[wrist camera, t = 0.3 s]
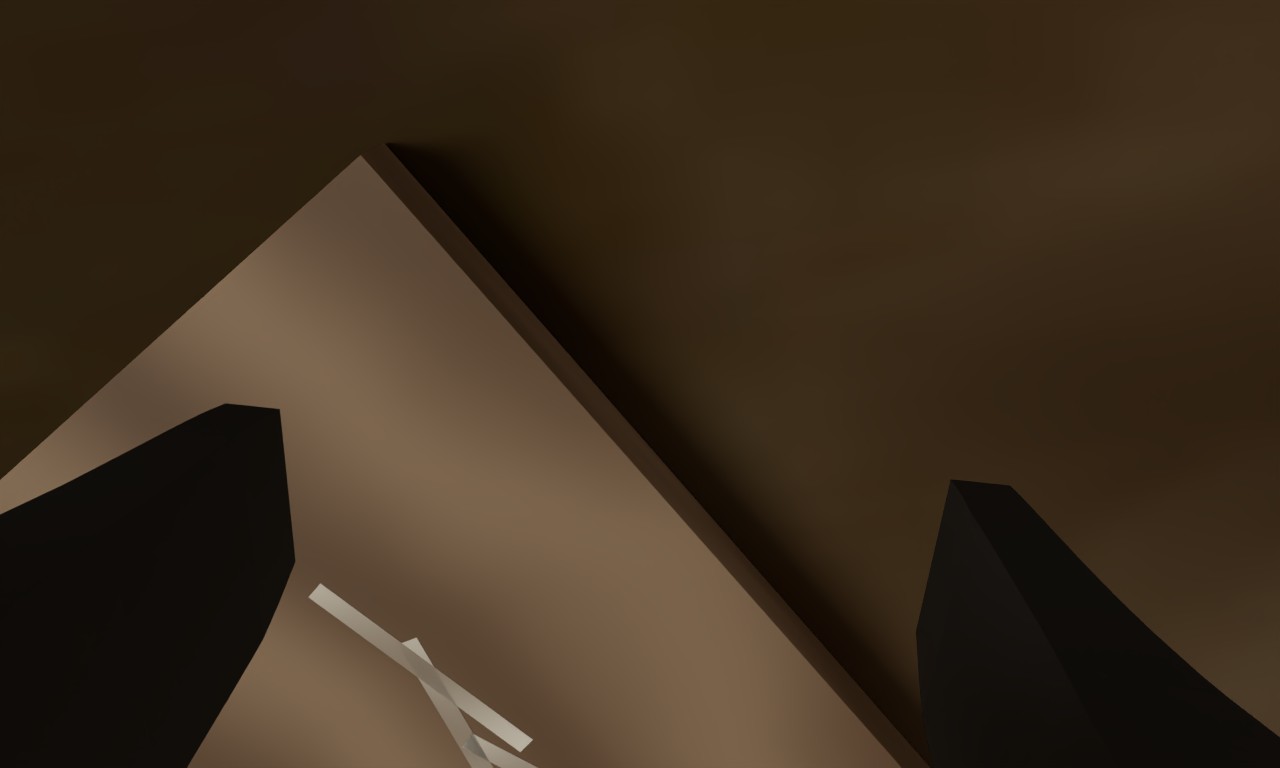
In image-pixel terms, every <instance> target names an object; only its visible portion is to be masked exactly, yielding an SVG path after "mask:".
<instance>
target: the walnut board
mask: <svg viewBox="0 0 1280 768" xmlns="http://www.w3.org/2000/svg"><path fill="white" fill-rule="evenodd" d="M225 403H228V404H238V405H247V406H257V407H266V408H276V409H280V414H281V424H282V434H283V444H284V453H285V463H286V473H287V483H288V492H289V502H290V512H291V521H292V531H293V541H294V551H295V560H296V562H295V564H294V567H293V569H292V572H291V574H290V577H289V579H288V582H287V584H286V587H285V589H284V592H283V594H282V597H281V599H280V602H279V604H278V607H277V609H276V611H275V614H274V616H273V618H272V621H271V623H270V625H269V627H268V630H267V632H266V634H265V637H264V639H263V641H262V642H261V644H260V646H259V648H258V649H257V651H256V653H255V655H254V656H253V658H252V660H251V662H250V663H249V665H248V667H247V668H246V670H245V672H244V673H243V675H242V677H241V678H240V680H239V682H238V684H237V685H236V687H235V689H234V690H233V692H232V694H231V695H230V697H229V699H228V701H227V702H226V704H225V706H224V707H223V709H222V710H221V712H220V714H219V715H218V717H217V719H216V720H215V722H214V724H213V725H212V727H211V729H210V730H209V732H208V734H207V735H206V737H205V739H204V740H203V742H202V744H201V745H200V747H199V749H198V750H197V752H196V754H195V755H194V757H193V759H192V760H191V762H190V764H189V765H188V767H187V768H930V767H929V766H928V765H927V763H926V762H925V761H924V760H923V759H922V758H921V757H920V755H919V754H918V753H917V752H916V751H915V750H914V749H913V747H912V746H911V745H910V744H909V743H908V742H907V740H906V739H905V738H904V737H903V736H902V735H901V734H900V732H899V731H898V730H897V729H896V728H895V727H894V726H893V724H892V723H891V722H890V721H889V720H888V719H887V718H886V716H885V715H884V714H883V713H882V712H881V711H880V710H879V708H878V707H877V706H876V705H875V704H874V703H873V702H872V700H871V699H870V698H869V697H868V696H867V695H866V694H865V692H864V691H863V690H862V689H861V688H860V687H859V686H858V684H857V683H856V682H855V681H854V680H853V679H852V678H851V676H850V675H849V674H848V673H847V672H846V671H845V670H844V668H843V667H842V666H841V665H840V664H839V663H838V662H837V660H836V659H835V658H834V657H833V656H832V655H831V654H830V652H829V651H828V650H827V649H826V648H825V647H824V646H823V644H822V643H821V642H820V641H819V640H818V639H817V638H816V636H815V635H814V634H813V633H812V632H811V631H810V630H809V628H808V627H807V626H806V625H805V624H804V623H803V622H802V620H801V619H800V618H799V617H798V616H797V615H796V614H795V612H794V611H793V610H792V609H791V608H790V607H789V606H788V604H787V603H786V602H785V601H784V600H783V599H782V598H781V596H780V595H779V594H778V593H777V592H776V591H775V590H774V588H773V587H772V586H771V585H770V584H769V583H768V582H767V580H766V579H765V578H764V577H763V576H762V575H761V574H760V572H759V571H758V570H757V569H756V568H755V567H754V566H753V564H752V563H751V562H750V561H749V560H748V559H747V558H746V556H745V555H744V554H743V553H742V552H741V551H740V550H739V548H738V547H737V546H736V545H735V544H734V543H733V542H732V540H731V539H730V538H729V537H728V536H727V535H726V533H725V532H724V531H723V530H722V529H721V528H720V527H719V525H718V524H717V523H716V522H715V521H714V520H713V519H712V517H711V516H710V515H709V514H708V513H707V512H706V511H705V509H704V508H703V507H702V506H701V505H700V504H699V503H698V501H697V500H696V499H695V498H694V497H693V496H692V495H691V493H690V492H689V491H688V490H687V489H686V488H685V487H684V485H683V484H682V483H681V482H680V481H679V480H678V479H677V477H676V476H675V475H674V474H673V473H672V472H671V471H670V469H669V468H668V467H667V466H666V465H665V464H664V463H663V461H662V460H661V459H660V458H659V457H658V456H657V455H656V453H655V452H654V451H653V450H652V449H651V448H650V447H649V445H648V444H647V443H646V442H645V441H644V440H643V439H642V437H641V436H640V435H639V434H638V433H637V432H636V431H635V429H634V428H633V427H632V426H631V425H630V424H629V423H628V421H627V420H626V419H625V418H624V417H623V416H622V415H621V413H620V412H619V411H618V410H617V409H616V408H615V407H614V405H613V404H612V403H611V402H610V401H609V400H608V399H607V397H606V396H605V395H604V394H603V393H602V392H601V391H600V389H599V388H598V387H597V386H596V385H595V384H594V383H593V381H592V380H591V379H590V378H589V377H588V376H587V375H586V373H585V372H584V371H583V370H582V369H581V368H580V367H579V365H578V364H577V363H576V362H575V361H574V360H573V359H572V357H571V356H570V355H569V354H568V353H567V352H566V351H565V349H564V348H563V347H562V346H561V345H560V344H559V343H558V341H557V340H556V339H555V338H554V337H553V336H552V335H551V333H550V332H549V331H548V330H547V329H546V328H545V326H544V325H543V324H542V323H541V322H540V321H539V320H538V318H537V317H536V316H535V315H534V314H533V313H532V312H531V310H530V309H529V308H528V307H527V306H526V305H525V304H524V302H523V301H522V300H521V299H520V298H519V297H518V296H517V294H516V293H515V292H514V291H513V290H512V289H511V288H510V286H509V285H508V284H507V283H506V282H505V281H504V280H503V278H502V277H501V276H500V275H499V274H498V273H497V272H496V270H495V269H494V268H493V267H492V266H491V265H490V264H489V262H488V261H487V260H486V259H485V258H484V257H483V256H482V254H481V253H480V252H479V251H478V250H477V249H476V248H475V246H474V245H473V244H472V243H471V242H470V241H469V240H468V238H467V237H466V236H465V235H464V234H463V233H462V232H461V230H460V229H459V228H458V227H457V226H456V225H455V224H454V222H453V221H452V220H451V219H450V218H449V217H448V216H447V214H446V213H445V212H444V211H443V210H442V209H441V208H440V206H439V205H438V204H437V203H436V202H435V201H434V200H433V198H432V197H431V196H430V195H429V194H428V193H427V192H426V190H425V189H424V188H423V187H422V186H421V185H420V184H419V182H418V181H417V180H416V179H415V178H414V177H413V176H412V174H411V173H410V172H409V171H408V170H407V169H406V168H405V166H404V165H403V164H402V163H401V162H400V161H399V160H398V158H397V157H396V156H395V155H394V154H393V153H392V152H391V150H390V149H389V148H388V147H387V146H386V145H385V144H384V143H383V144H381V145H379V146H377V147H375V148H373V149H371V150H369V151H367V152H365V153H363V154H362V155H360V156H359V157H358V158H357V159H356V160H355V161H353V162H352V163H351V164H350V165H349V166H348V167H347V168H346V169H345V170H343V171H342V172H341V173H340V174H339V175H338V176H337V177H336V178H335V179H333V180H332V181H331V182H330V183H329V184H328V185H327V186H326V187H325V188H324V189H322V190H321V191H320V192H319V193H318V194H317V195H316V196H315V197H314V198H312V199H311V200H310V201H309V202H308V203H307V204H306V205H305V206H304V207H302V208H301V209H300V210H299V211H298V212H297V213H296V214H295V215H294V216H292V217H291V218H290V219H289V220H288V221H287V222H286V223H285V224H284V225H283V226H281V227H280V228H279V229H278V230H277V231H276V232H275V233H274V234H273V235H271V236H270V237H269V238H268V239H267V240H266V241H265V242H264V243H263V244H261V245H260V246H259V247H258V248H257V249H256V250H255V251H254V252H253V253H251V254H250V255H249V256H248V257H247V258H246V259H245V260H244V261H243V262H242V263H240V264H239V265H238V266H237V267H236V268H235V269H234V270H233V271H232V272H230V273H229V274H228V275H227V276H226V277H225V278H224V279H223V280H222V281H220V282H219V283H218V284H217V285H216V286H215V287H214V288H213V289H212V290H211V291H209V292H208V293H207V294H206V295H205V296H204V297H203V298H202V299H201V300H199V301H198V302H197V303H196V304H195V305H194V306H193V307H192V308H191V309H189V310H188V311H187V312H186V313H185V314H184V315H183V316H182V317H181V318H179V319H178V320H177V321H176V322H175V323H174V324H173V325H172V326H171V327H170V328H168V329H167V330H166V331H165V332H164V333H163V334H162V335H161V336H160V337H158V338H157V339H156V340H155V341H154V342H153V343H152V344H151V345H150V346H148V347H147V348H146V349H145V350H144V351H143V352H142V353H141V354H140V355H139V356H137V357H136V358H135V359H134V360H133V361H132V362H131V363H130V364H129V365H127V366H126V367H125V368H124V369H123V370H122V371H121V372H120V373H119V374H117V375H116V376H115V377H114V378H113V379H112V380H111V381H110V382H109V383H107V384H106V385H105V386H104V387H103V388H102V389H101V390H100V391H99V392H98V393H96V394H95V395H94V396H93V397H92V398H91V399H90V400H89V401H88V402H86V403H85V404H84V405H83V406H82V407H81V408H80V409H79V410H78V411H76V412H75V413H74V414H73V415H72V416H71V417H70V418H69V419H68V420H66V421H65V422H64V423H63V424H62V425H61V426H60V427H59V428H58V429H57V430H55V431H54V432H53V433H52V434H51V435H50V436H49V437H48V438H47V439H45V440H44V441H43V442H42V443H41V444H40V445H39V446H38V447H37V448H35V449H34V450H33V451H32V452H31V453H30V454H29V455H28V456H27V457H26V458H24V459H23V460H22V461H21V462H20V463H19V464H18V465H17V466H16V467H14V468H13V469H12V470H11V471H10V472H9V473H8V474H7V475H6V476H4V477H3V478H2V479H1V480H0V514H2V513H4V512H6V511H8V510H10V509H13V508H15V507H17V506H19V505H21V504H23V503H25V502H27V501H30V500H32V499H34V498H36V497H38V496H40V495H42V494H44V493H46V492H49V491H51V490H53V489H55V488H57V487H59V486H61V485H63V484H65V483H67V482H69V481H71V480H73V479H75V478H77V477H79V476H81V475H83V474H85V473H87V472H89V471H91V470H93V469H94V468H96V467H98V466H100V465H102V464H104V463H106V462H108V461H110V460H112V459H114V458H116V457H118V456H120V455H121V454H123V453H125V452H127V451H129V450H131V449H133V448H135V447H137V446H139V445H141V444H143V443H144V442H146V441H148V440H150V439H152V438H154V437H156V436H158V435H160V434H162V433H164V432H166V431H167V430H169V429H171V428H173V427H175V426H177V425H179V424H181V423H183V422H185V421H187V420H189V419H191V418H193V417H195V416H197V415H199V414H201V413H204V412H206V411H208V410H210V409H213V408H215V407H218V406H220V405H223V404H225Z"/></svg>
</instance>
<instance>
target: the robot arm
mask: <svg viewBox="0 0 1280 768" xmlns="http://www.w3.org/2000/svg"><path fill="white" fill-rule="evenodd" d="M295 562H296V560H295V551H294V541H293V531H292V521H291V512H290V502H289V492H288V483H287V473H286V463H285V453H284V444H283V434H282V424H281V414H280V409H276V408H266V407H257V406H247V405H238V404H228V403H225V404H223V405H220V406H218V407H215V408H213V409H210V410H208V411H206V412H204V413H201V414H199V415H197V416H195V417H193V418H191V419H189V420H187V421H185V422H183V423H181V424H179V425H177V426H175V427H173V428H171V429H169V430H167V431H166V432H164V433H162V434H160V435H158V436H156V437H154V438H152V439H150V440H148V441H146V442H144V443H143V444H141V445H139V446H137V447H135V448H133V449H131V450H129V451H127V452H125V453H123V454H121V455H120V456H118V457H116V458H114V459H112V460H110V461H108V462H106V463H104V464H102V465H100V466H98V467H96V468H94V469H93V470H91V471H89V472H87V473H85V474H83V475H81V476H79V477H77V478H75V479H73V480H71V481H69V482H67V483H65V484H63V485H61V486H59V487H57V488H55V489H53V490H51V491H49V492H46V493H44V494H42V495H40V496H38V497H36V498H34V499H32V500H30V501H27V502H25V503H23V504H21V505H19V506H17V507H15V508H13V509H10V510H8V511H6V512H4V513H2V514H0V768H187V767H188V765H189V764H190V762H191V760H192V759H193V757H194V755H195V754H196V752H197V750H198V749H199V747H200V745H201V744H202V742H203V740H204V739H205V737H206V735H207V734H208V732H209V730H210V729H211V727H212V725H213V724H214V722H215V720H216V719H217V717H218V715H219V714H220V712H221V710H222V709H223V707H224V706H225V704H226V702H227V701H228V699H229V697H230V695H231V694H232V692H233V690H234V689H235V687H236V685H237V684H238V682H239V680H240V678H241V677H242V675H243V673H244V672H245V670H246V668H247V667H248V665H249V663H250V662H251V660H252V658H253V656H254V655H255V653H256V651H257V649H258V648H259V646H260V644H261V642H262V641H263V639H264V637H265V634H266V632H267V630H268V627H269V625H270V623H271V621H272V618H273V616H274V614H275V611H276V609H277V607H278V604H279V602H280V599H281V597H282V594H283V592H284V589H285V587H286V584H287V582H288V579H289V577H290V574H291V572H292V569H293V567H294V564H295ZM916 638H917V654H918V669H919V683H920V694H921V706H922V717H923V722H924V727H925V732H926V737H927V742H928V746H929V751H930V756H931V761H932V766H933V768H1280V737H1279V736H1277V735H1276V734H1275V733H1273V732H1272V731H1271V730H1269V729H1268V728H1267V727H1266V726H1264V725H1263V724H1262V723H1260V722H1259V721H1258V720H1257V719H1255V718H1254V717H1253V716H1251V715H1250V714H1249V713H1247V712H1246V711H1245V710H1244V709H1242V708H1241V707H1240V706H1238V705H1237V704H1236V703H1234V702H1233V701H1232V700H1231V699H1229V698H1228V697H1227V696H1226V695H1224V694H1223V693H1222V692H1221V691H1219V690H1218V689H1217V688H1216V687H1215V686H1213V685H1212V684H1211V683H1210V682H1209V681H1207V680H1206V679H1205V678H1204V677H1203V676H1201V675H1200V674H1199V673H1198V672H1197V671H1196V670H1195V669H1193V668H1192V667H1191V666H1190V665H1189V664H1188V663H1187V662H1186V661H1185V660H1183V659H1182V658H1181V657H1180V656H1179V655H1178V654H1177V653H1176V652H1175V651H1173V650H1172V649H1171V648H1170V647H1169V646H1168V645H1167V644H1166V643H1164V642H1163V641H1162V640H1161V639H1160V638H1159V637H1158V636H1157V635H1156V634H1154V633H1153V632H1152V631H1151V630H1150V629H1149V628H1148V627H1147V626H1146V625H1145V624H1144V623H1143V622H1142V621H1141V620H1140V619H1139V618H1138V617H1137V616H1136V615H1135V614H1133V613H1132V612H1131V611H1130V610H1129V609H1128V608H1127V607H1126V606H1125V605H1124V604H1123V603H1122V602H1121V601H1120V600H1119V599H1118V598H1117V597H1116V596H1115V595H1114V594H1113V593H1112V592H1111V591H1110V590H1109V589H1108V588H1107V587H1106V586H1105V585H1104V584H1103V583H1102V582H1101V581H1100V580H1099V579H1098V578H1097V577H1096V576H1095V575H1094V573H1093V572H1092V571H1091V570H1090V569H1089V568H1088V567H1087V566H1086V565H1085V564H1084V563H1083V562H1082V561H1081V560H1080V559H1079V558H1078V557H1077V556H1076V555H1075V554H1074V553H1073V551H1072V550H1071V549H1070V548H1069V547H1068V546H1067V545H1066V544H1065V543H1064V542H1063V541H1062V540H1061V539H1060V538H1059V536H1058V535H1057V534H1056V533H1055V532H1054V531H1053V530H1052V529H1051V528H1050V527H1049V526H1048V525H1047V524H1046V523H1045V521H1044V520H1043V519H1042V518H1041V517H1040V516H1039V515H1038V514H1037V513H1036V512H1035V511H1034V510H1033V509H1032V507H1031V506H1030V505H1029V504H1028V503H1027V502H1026V501H1025V500H1024V499H1023V498H1022V497H1021V496H1020V495H1019V494H1018V493H1017V492H1016V491H1015V490H1014V489H1013V488H1012V487H1011V486H1008V485H999V484H989V483H980V482H970V481H961V480H951V481H950V485H949V489H948V494H947V498H946V503H945V507H944V511H943V516H942V520H941V524H940V529H939V533H938V538H937V542H936V546H935V551H934V555H933V560H932V564H931V568H930V573H929V577H928V581H927V586H926V590H925V595H924V599H923V603H922V608H921V612H920V616H919V621H918V625H917V630H916Z"/></svg>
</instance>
